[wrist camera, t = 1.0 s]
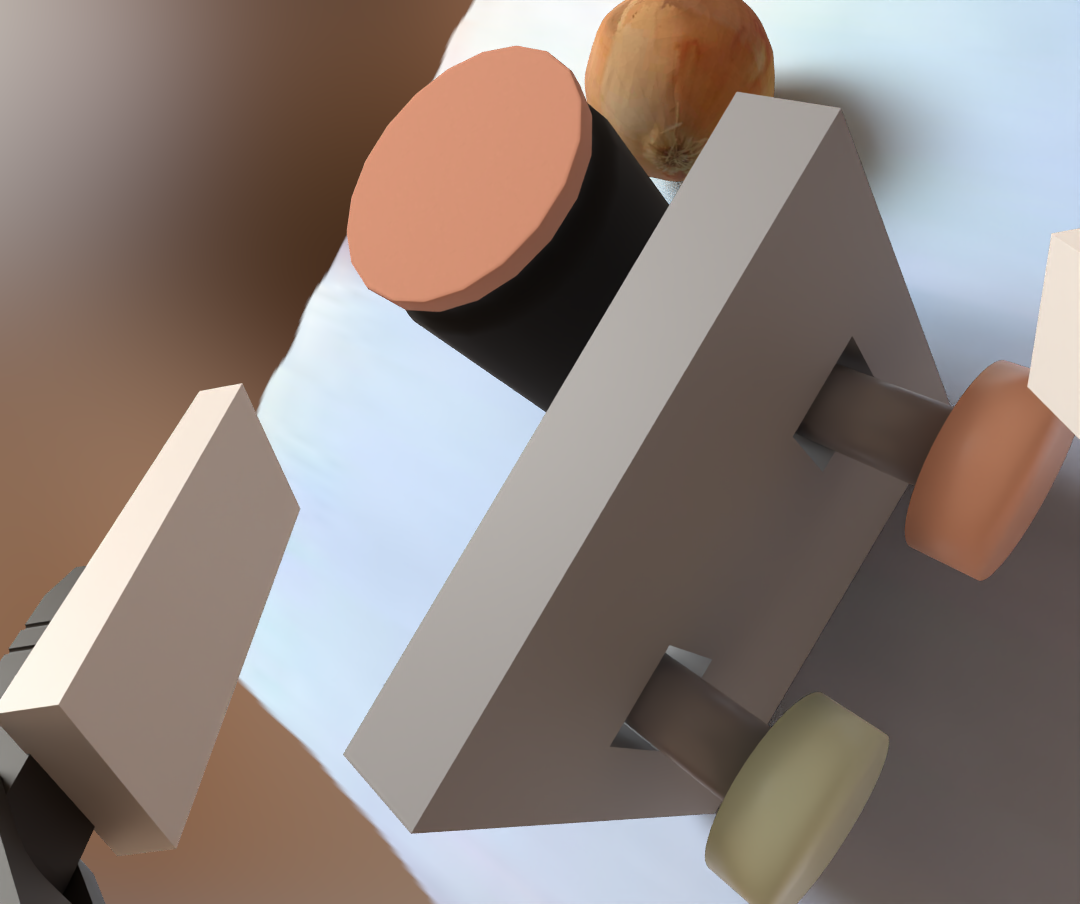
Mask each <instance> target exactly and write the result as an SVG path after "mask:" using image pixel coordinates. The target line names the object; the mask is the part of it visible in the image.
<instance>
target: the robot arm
mask: <svg viewBox="0 0 1080 904" xmlns="http://www.w3.org/2000/svg"><path fill="white" fill-rule="evenodd" d="M1027 387H1028V388H1029V389H1030V390H1031V391H1032V392H1033V393H1034V394H1035V395H1036V396H1037V397H1038V398H1039V399H1040V400H1041V401H1042V402H1043V403H1044V404H1045V405H1046V406H1047V407H1048V408H1049V409H1050V410H1051V411H1052V412H1053V413H1054V414H1055V415H1056V416H1057V417H1058V418H1059V419H1060V420H1061V421H1062V422H1063V423H1064V424H1065V425H1066V426H1067V427H1068V428H1069V429H1070V430H1071V431H1072V432H1073V433H1074V434H1075V435H1076V436H1077V437H1078V438H1079V439H1080V228H1079V229H1074V230H1068V231H1063V232H1057V233H1052V234H1051V241H1050V247H1049V253H1048V260H1047V266H1046V272H1045V279H1044V285H1043V291H1042V298H1041V304H1040V310H1039V317H1038V323H1037V329H1036V335H1035V342H1034V348H1033V354H1032V361H1031V367H1030V373H1029V380H1028V386H1027ZM299 511H300V507H299V505H298V503H297V501H296V499H295V496H294V494H293V492H292V490H291V488H290V486H289V483H288V481H287V479H286V477H285V475H284V473H283V471H282V468H281V466H280V464H279V462H278V460H277V458H276V455H275V453H274V451H273V449H272V447H271V445H270V442H269V440H268V438H267V436H266V434H265V432H264V430H263V427H262V425H261V423H260V421H259V419H258V417H257V414H256V412H255V410H254V408H253V406H252V404H251V402H250V399H249V397H248V395H247V393H246V391H245V389H244V386H243V384H237V385H231V386H226V387H220V388H215V389H209V390H204V391H200V392H199V393H198V395H197V396H196V398H195V399H194V401H193V402H192V404H191V406H190V407H189V409H188V410H187V412H186V414H185V415H184V416H183V418H182V419H181V421H180V423H179V424H178V426H177V427H176V429H175V430H174V432H173V433H172V435H171V436H170V438H169V440H168V441H167V443H166V444H165V446H164V447H163V449H162V450H161V452H160V453H159V455H158V456H157V458H156V460H155V461H154V463H153V464H152V466H151V467H150V469H149V470H148V472H147V473H146V475H145V476H144V478H143V480H142V481H141V483H140V484H139V486H138V487H137V489H136V491H135V492H134V494H133V495H132V497H131V498H130V500H129V501H128V503H127V504H126V506H125V508H124V509H123V511H122V512H121V514H120V515H119V517H118V518H117V520H116V522H115V523H114V525H113V526H112V528H111V529H110V531H109V532H108V534H107V535H106V537H105V539H104V540H103V541H102V543H101V545H100V546H99V548H98V549H97V551H96V552H95V554H94V555H93V557H92V558H91V560H90V562H89V563H88V565H87V566H82V567H76V568H74V569H73V570H72V571H71V572H70V573H69V574H68V575H67V576H66V577H65V578H63V580H61V581H60V582H59V583H58V584H57V585H56V586H55V587H54V588H52V589H51V590H50V591H49V592H48V593H47V594H46V595H45V596H44V597H43V599H42V600H41V602H40V603H39V605H38V606H37V608H36V609H35V611H34V612H33V614H32V615H31V617H30V618H29V619H28V621H27V622H26V624H25V625H26V629H25V630H21V631H20V633H19V634H18V636H17V637H16V639H15V640H14V642H13V643H12V644H11V646H10V648H9V651H10V653H9V654H7V655H4V656H3V658H2V659H1V661H0V904H105V902H104V900H103V897H102V894H101V892H100V889H99V887H98V884H97V882H96V879H95V876H94V875H93V873H92V872H91V871H90V870H89V868H88V867H87V866H86V865H85V864H84V863H83V862H82V861H81V860H80V858H81V856H82V854H83V852H84V849H85V847H86V845H87V842H88V841H89V838H90V836H91V834H92V832H93V830H95V831H96V833H97V834H98V835H99V836H100V837H101V838H102V839H103V840H104V842H105V843H106V844H107V845H108V846H109V847H110V848H111V849H112V850H113V852H114V853H115V854H116V855H117V856H122V855H129V854H138V853H146V852H154V851H162V850H170V849H176V848H177V845H178V842H179V839H180V837H181V834H182V831H183V828H184V826H185V823H186V820H187V817H188V815H189V812H190V809H191V807H192V804H193V801H194V798H195V796H196V793H197V790H198V787H199V784H200V782H201V779H202V776H203V774H204V771H205V768H206V765H207V762H208V760H209V757H210V754H211V752H212V749H213V746H214V743H215V741H216V738H217V735H218V733H219V730H220V727H221V724H222V721H223V718H224V716H225V713H226V710H227V708H228V705H229V702H230V699H231V697H232V694H233V691H234V689H235V686H236V683H237V680H238V678H239V675H240V672H241V669H242V667H243V664H244V661H245V659H246V656H247V653H248V650H249V648H250V645H251V642H252V639H253V637H254V634H255V631H256V628H257V626H258V623H259V620H260V617H261V615H262V612H263V609H264V606H265V604H266V601H267V598H268V595H269V593H270V590H271V587H272V585H273V582H274V579H275V576H276V574H277V571H278V568H279V565H280V563H281V560H282V557H283V554H284V552H285V549H286V546H287V543H288V541H289V538H290V535H291V532H292V530H293V527H294V524H295V522H296V519H297V516H298V513H299Z"/></svg>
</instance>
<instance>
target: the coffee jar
mask: <svg viewBox="0 0 1080 904" xmlns="http://www.w3.org/2000/svg"><path fill="white" fill-rule="evenodd" d="M668 207H669V204H668V203H667V201H666V200H665V198H664V197H663V196H662V194H661V193H660V192H659V190H658V189H657V187H656V186H655V185H654V183H653V182H652V180H651V179H650V178H649V176H648V175H647V174H646V172H645V171H644V169H643V168H642V167H641V165H640V164H639V162H638V161H637V160H636V158H635V157H634V156H633V154H632V153H631V151H630V150H629V149H628V147H627V146H626V145H625V143H624V142H623V140H622V139H621V138H620V136H619V135H618V133H617V132H616V131H615V129H614V128H613V127H612V125H611V124H610V122H609V121H608V120H607V119H606V118H605V117H604V116H603V115H601V114H600V113H599V112H598V111H597V110H595V109H594V108H593V107H592V106H591V105H589V104H588V103H587V101H586V99H585V96H584V94H583V92H582V89H581V87H580V84H579V83H578V81H577V79H576V77H575V76H574V74H573V72H572V71H571V70H570V69H569V68H567V67H566V66H565V65H564V64H562V63H561V62H560V61H559V60H557V59H556V58H555V57H554V56H552V55H551V54H550V53H549V52H547V51H542V50H537V49H531V48H526V47H521V46H512V47H507V48H502V49H497V50H491V51H486V52H482V53H480V54H478V55H476V56H474V57H472V58H470V59H468V60H466V61H464V62H462V63H459V64H457V65H455V66H453V67H451V68H449V69H447V70H446V71H445V72H444V73H442V74H441V75H440V76H439V77H437V78H436V79H435V80H433V81H432V82H431V83H430V84H428V85H427V86H426V87H424V88H423V89H422V90H421V91H419V92H418V93H417V94H416V95H415V96H414V97H413V98H412V99H411V100H410V101H409V102H408V103H407V105H406V106H405V107H404V108H403V109H402V110H401V111H400V112H399V114H398V115H397V116H396V117H395V118H394V119H393V120H392V121H391V123H390V124H389V125H388V126H387V127H386V129H385V131H384V132H383V134H382V136H381V137H380V139H379V141H378V142H377V144H376V145H375V147H374V148H373V150H372V152H371V153H370V155H369V156H368V158H367V160H366V162H365V164H364V167H363V169H362V172H361V175H360V177H359V180H358V182H357V185H356V188H355V190H354V193H353V195H352V200H351V207H350V213H349V220H348V227H347V237H348V243H349V249H350V256H351V262H352V264H353V266H354V267H355V269H356V271H357V272H358V274H359V275H360V277H361V278H362V280H363V282H364V283H365V285H366V286H367V288H368V289H369V290H371V291H373V292H375V293H376V294H378V295H380V296H382V297H384V298H385V299H387V300H389V301H391V302H392V303H394V304H396V305H398V306H400V307H402V308H403V309H405V310H406V311H407V313H408V314H409V316H410V317H411V318H412V319H413V321H415V322H416V323H418V324H419V325H420V326H422V327H423V328H425V329H426V330H428V331H429V332H431V333H432V334H434V335H435V336H436V337H438V338H439V339H441V340H442V341H444V342H445V343H447V344H448V345H449V346H451V347H452V348H454V349H455V350H457V351H458V352H460V353H461V354H463V355H464V356H465V357H467V358H468V359H470V360H471V361H473V362H474V363H476V364H477V365H478V366H480V367H481V368H483V369H484V370H486V371H487V372H489V373H490V374H491V375H493V376H494V377H496V378H497V379H499V380H500V381H502V382H503V383H505V384H506V385H507V386H509V387H510V388H512V389H513V390H515V391H516V392H518V393H519V394H520V395H522V396H523V397H525V398H526V399H528V400H529V401H531V402H532V403H534V404H535V405H536V406H538V407H539V408H541V409H542V410H544V411H545V412H547V410H548V409H549V407H550V405H551V404H552V402H553V400H554V398H555V397H556V395H557V393H558V392H559V390H560V388H561V387H562V385H563V383H564V382H565V380H566V378H567V377H568V375H569V373H570V372H571V370H572V368H573V367H574V365H575V363H576V361H577V360H578V358H579V356H580V355H581V353H582V351H583V350H584V348H585V346H586V345H587V343H588V341H589V340H590V338H591V336H592V335H593V333H594V331H595V329H596V328H597V326H598V324H599V323H600V321H601V319H602V318H603V316H604V314H605V313H606V311H607V309H608V308H609V306H610V304H611V303H612V301H613V299H614V298H615V296H616V294H617V292H618V291H619V289H620V287H621V286H622V284H623V282H624V281H625V279H626V277H627V276H628V274H629V272H630V271H631V269H632V267H633V266H634V264H635V262H636V260H637V259H638V257H639V255H640V254H641V252H642V250H643V249H644V247H645V245H646V244H647V242H648V240H649V239H650V237H651V235H652V234H653V232H654V230H655V229H656V227H657V225H658V223H659V222H660V220H661V218H662V217H663V215H664V213H665V212H666V210H667V208H668Z"/></svg>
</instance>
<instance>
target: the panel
mask: <svg viewBox="0 0 1080 904" xmlns="http://www.w3.org/2000/svg"><path fill="white" fill-rule="evenodd" d="M836 363H837V364H839V365H842V366H845V367H847V368H850V369H853V370H856V371H858V372H861V373H864V374H866V375H869V376H872V377H875V378H877V379H880V380H883V381H885V382H888V383H891V384H894V385H896V386H899V387H902V388H904V389H907V390H910V391H913V392H915V393H918V394H921V395H923V396H926V397H929V398H932V399H934V400H937V401H940V402H943V403H945V404H948V405H950V403H949V400H948V398H947V395H946V392H945V389H944V387H943V384H942V381H941V378H940V376H939V373H938V370H937V368H936V365H935V362H934V359H933V357H932V354H931V351H930V349H929V346H928V343H927V340H926V338H925V335H924V332H923V330H922V327H921V324H920V321H919V319H918V316H917V313H916V311H915V308H914V305H913V302H912V300H911V297H910V294H909V292H908V289H907V286H906V283H905V281H904V278H903V275H902V272H901V270H900V267H899V264H898V262H897V259H896V256H895V253H894V251H893V248H892V245H891V243H890V240H889V237H888V234H887V232H886V229H885V226H884V224H883V221H882V218H881V215H880V213H879V210H878V207H877V205H876V202H875V199H874V196H873V194H872V191H871V188H870V186H869V183H868V180H867V177H866V175H865V172H864V169H863V166H862V164H861V161H860V158H859V156H858V153H857V150H856V147H855V145H854V142H853V139H852V137H851V134H850V131H849V128H848V126H847V123H846V120H845V118H844V115H843V112H842V109H841V108H838V107H832V106H825V105H819V104H812V103H806V102H800V101H793V100H787V99H780V98H774V97H768V96H761V95H755V94H748V93H742V92H736V94H735V96H734V97H733V99H732V101H731V102H730V104H729V106H728V107H727V109H726V111H725V112H724V114H723V116H722V117H721V119H720V121H719V122H718V124H717V126H716V128H715V129H714V131H713V133H712V134H711V136H710V138H709V139H708V141H707V143H706V144H705V146H704V148H703V149H702V151H701V153H700V154H699V156H698V158H697V159H696V161H695V163H694V165H693V166H692V168H691V170H690V171H689V173H688V175H687V176H686V178H685V180H684V181H683V183H682V185H681V186H680V188H679V190H678V191H677V193H676V195H675V197H674V198H673V200H672V202H671V203H670V205H669V207H668V208H667V210H666V212H665V213H664V215H663V217H662V218H661V220H660V222H659V223H658V225H657V227H656V229H655V230H654V232H653V234H652V235H651V237H650V239H649V240H648V242H647V244H646V245H645V247H644V249H643V250H642V252H641V254H640V255H639V257H638V259H637V260H636V262H635V264H634V266H633V267H632V269H631V271H630V272H629V274H628V276H627V277H626V279H625V281H624V282H623V284H622V286H621V287H620V289H619V291H618V292H617V294H616V296H615V298H614V299H613V301H612V303H611V304H610V306H609V308H608V309H607V311H606V313H605V314H604V316H603V318H602V319H601V321H600V323H599V324H598V326H597V328H596V329H595V331H594V333H593V335H592V336H591V338H590V340H589V341H588V343H587V345H586V346H585V348H584V350H583V351H582V353H581V355H580V356H579V358H578V360H577V361H576V363H575V365H574V367H573V368H572V370H571V372H570V373H569V375H568V377H567V378H566V380H565V382H564V383H563V385H562V387H561V388H560V390H559V392H558V393H557V395H556V397H555V398H554V400H553V402H552V404H551V405H550V407H549V409H548V410H547V412H546V414H545V415H544V417H543V419H542V420H541V422H540V424H539V425H538V427H537V429H536V430H535V432H534V434H533V436H532V437H531V439H530V441H529V442H528V444H527V446H526V447H525V449H524V451H523V452H522V454H521V456H520V457H519V459H518V461H517V462H516V464H515V466H514V468H513V469H512V471H511V473H510V474H509V476H508V478H507V479H506V481H505V483H504V484H503V486H502V488H501V489H500V491H499V493H498V494H497V496H496V498H495V499H494V501H493V503H492V505H491V506H490V508H489V510H488V511H487V513H486V515H485V516H484V518H483V520H482V521H481V523H480V525H479V526H478V528H477V530H476V531H475V533H474V535H473V537H472V538H471V540H470V542H469V543H468V545H467V547H466V548H465V550H464V552H463V553H462V555H461V557H460V558H459V560H458V562H457V563H456V565H455V567H454V568H453V570H452V572H451V574H450V575H449V577H448V579H447V580H446V582H445V584H444V585H443V587H442V589H441V590H440V592H439V594H438V595H437V597H436V599H435V600H434V602H433V604H432V606H431V607H430V609H429V611H428V612H427V614H426V616H425V617H424V619H423V621H422V622H421V624H420V626H419V627H418V629H417V631H416V632H415V634H414V636H413V638H412V639H411V641H410V643H409V644H408V646H407V648H406V649H405V651H404V653H403V654H402V656H401V658H400V659H399V661H398V663H397V664H396V666H395V668H394V669H393V671H392V673H391V675H390V676H389V678H388V680H387V681H386V683H385V685H384V686H383V688H382V690H381V691H380V693H379V695H378V696H377V698H376V700H375V701H374V703H373V705H372V707H371V708H370V710H369V712H368V713H367V715H366V717H365V718H364V720H363V722H362V723H361V725H360V727H359V728H358V730H357V732H356V733H355V735H354V737H353V738H352V740H351V742H350V744H349V745H348V747H347V749H346V750H345V752H344V754H343V755H344V756H345V757H346V758H347V760H348V761H349V762H350V763H351V764H352V765H353V767H354V768H355V769H356V770H357V771H358V772H359V774H360V775H361V776H362V777H363V778H364V779H365V781H366V782H367V783H368V784H369V785H370V786H371V788H372V789H373V790H374V791H375V792H376V793H377V795H378V796H379V797H380V798H381V799H382V800H383V802H384V803H385V804H386V805H387V806H388V807H389V809H390V810H391V811H392V812H393V813H394V814H395V816H396V817H397V818H398V819H399V820H400V821H401V823H402V824H403V825H404V826H405V827H406V828H407V830H408V831H409V832H410V833H411V834H412V833H428V832H443V831H458V830H473V829H488V828H503V827H518V826H533V825H549V824H564V823H579V822H594V821H609V820H624V819H639V818H654V817H669V816H685V815H700V814H715V813H716V811H717V809H718V808H719V806H720V804H721V802H722V800H721V799H719V798H718V797H717V796H716V795H714V794H713V793H712V792H711V791H709V790H708V789H707V788H706V787H704V786H703V785H702V784H701V783H699V782H698V781H697V780H696V779H694V778H693V777H692V776H691V775H690V774H688V773H687V772H686V771H685V770H683V769H682V768H681V767H680V766H678V765H677V764H676V763H675V762H673V761H672V760H671V759H670V758H668V757H667V756H666V755H665V754H663V753H662V752H661V751H660V750H658V749H657V748H656V747H655V746H653V745H652V744H651V743H650V742H649V741H647V740H646V739H645V738H644V737H642V736H641V735H640V734H639V733H637V732H636V731H635V730H634V729H632V728H631V727H630V726H629V725H627V724H626V723H625V722H624V721H625V720H626V718H627V716H628V715H629V713H630V711H631V710H632V708H633V706H634V705H635V703H636V701H637V699H638V698H639V696H640V694H641V693H642V691H643V689H644V688H645V686H646V684H647V683H648V681H649V679H650V677H651V676H652V674H653V672H654V671H655V669H656V667H657V666H658V664H659V662H660V661H661V659H662V657H663V655H664V654H665V653H667V654H668V655H670V656H671V657H672V658H674V659H675V660H677V661H678V662H680V663H681V664H682V665H684V666H685V667H687V668H688V669H689V670H691V671H692V672H694V673H695V674H697V675H698V676H699V677H701V678H702V679H704V680H705V681H706V682H708V683H709V684H711V685H712V686H714V687H715V688H716V689H718V690H719V691H721V692H722V693H723V694H725V695H726V696H728V697H729V698H731V699H732V700H733V701H735V702H736V703H738V704H739V705H740V706H742V707H743V708H745V709H746V710H747V711H749V712H750V713H752V714H753V715H755V716H756V717H757V718H759V719H760V720H762V721H763V722H764V723H766V724H768V723H769V721H770V719H771V718H772V716H773V714H774V712H775V711H776V709H777V707H778V706H779V704H780V702H781V701H782V699H783V697H784V695H785V694H786V692H787V690H788V689H789V687H790V685H791V684H792V682H793V680H794V678H795V677H796V675H797V673H798V672H799V670H800V668H801V667H802V665H803V663H804V661H805V660H806V658H807V656H808V655H809V653H810V651H811V650H812V648H813V646H814V645H815V643H816V641H817V639H818V638H819V636H820V634H821V633H822V631H823V629H824V628H825V626H826V624H827V622H828V621H829V619H830V617H831V616H832V614H833V612H834V611H835V609H836V607H837V605H838V604H839V602H840V600H841V599H842V597H843V595H844V594H845V592H846V590H847V588H848V587H849V585H850V583H851V582H852V580H853V578H854V577H855V575H856V573H857V571H858V570H859V568H860V566H861V565H862V563H863V561H864V560H865V558H866V556H867V554H868V553H869V551H870V549H871V548H872V546H873V544H874V543H875V541H876V539H877V538H878V536H879V534H880V532H881V531H882V529H883V527H884V526H885V524H886V522H887V521H888V519H889V517H890V515H891V514H892V512H893V510H894V509H895V507H896V505H897V504H898V502H899V500H900V498H901V497H902V495H903V493H904V492H905V490H906V488H907V487H908V485H909V483H907V482H904V481H902V480H900V479H897V478H895V477H893V476H891V475H888V474H886V473H884V472H882V471H879V470H877V469H875V468H872V467H870V466H868V465H866V464H863V463H861V462H859V461H857V460H854V459H852V458H850V457H848V456H845V455H843V454H841V453H838V452H836V451H834V450H832V449H829V448H827V447H825V446H823V445H820V444H818V443H816V442H813V441H811V440H809V439H807V438H804V437H802V436H800V435H798V434H795V432H796V430H797V429H798V427H799V425H800V424H801V422H802V420H803V418H804V417H805V415H806V413H807V412H808V410H809V408H810V407H811V405H812V403H813V401H814V400H815V398H816V396H817V395H818V393H819V391H820V390H821V388H822V386H823V385H824V383H825V381H826V379H827V378H828V376H829V374H830V373H831V371H832V369H833V368H834V366H835V364H836Z"/></svg>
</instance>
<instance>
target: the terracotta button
mask: <svg viewBox="0 0 1080 904" xmlns="http://www.w3.org/2000/svg"><path fill="white" fill-rule="evenodd" d="M1029 373H1030V368H1027V367H1024V366H1021V365H1018V364H1015V363H1012V362H1008V361H1005V360H999V361H997V362H994V363H993V364H991V365H990V366H988V367H987V368H986V369H985V370H984V371H983V372H982V373H981V374H980V375H979V376H978V377H977V378H976V379H975V380H974V381H973V382H972V384H971V385H970V386H969V387H968V388H967V390H966V391H965V392H964V394H963V395H962V396H961V398H960V399H959V401H958V402H957V404H956V405H955V407H953V406H951V405H948V404H945V403H943V402H940V401H937V400H934V399H932V398H929V397H926V396H923V395H921V394H918V393H915V392H913V391H910V390H907V389H904V388H902V387H899V386H896V385H894V384H891V383H888V382H885V381H883V380H880V379H877V378H875V377H872V376H869V375H866V374H864V373H861V372H858V371H856V370H853V369H850V368H847V367H845V366H842V365H839V364H837V363H836V364H835V366H834V368H833V369H832V371H831V373H830V374H829V376H828V378H827V379H826V381H825V383H824V385H823V386H822V388H821V390H820V391H819V393H818V395H817V396H816V398H815V400H814V401H813V403H812V405H811V407H810V408H809V410H808V412H807V413H806V415H805V417H804V418H803V420H802V422H801V424H800V425H799V427H798V429H797V430H796V432H795V434H798V435H800V436H802V437H804V438H807V439H809V440H811V441H813V442H816V443H818V444H820V445H823V446H825V447H827V448H829V449H832V450H834V451H836V452H838V453H841V454H843V455H845V456H848V457H850V458H852V459H854V460H857V461H859V462H861V463H863V464H866V465H868V466H870V467H872V468H875V469H877V470H879V471H882V472H884V473H886V474H888V475H891V476H893V477H895V478H897V479H900V480H902V481H904V482H907V483H909V484H911V485H913V486H915V487H914V490H913V493H912V496H911V499H910V503H909V507H908V511H907V516H906V522H905V539H906V542H907V544H908V546H910V547H911V548H913V549H915V550H917V551H919V552H921V553H923V554H925V555H927V556H929V557H931V558H933V559H935V560H937V561H939V562H942V563H944V564H946V565H948V566H950V567H952V568H954V569H956V570H958V571H960V572H962V573H964V574H966V575H968V576H970V577H972V578H974V579H976V580H978V581H982V580H985V579H987V578H988V577H989V576H991V575H992V574H993V573H994V572H995V571H996V570H997V569H998V568H999V567H1000V566H1001V565H1002V563H1003V562H1004V561H1005V560H1006V559H1007V557H1008V556H1009V555H1010V553H1011V552H1012V551H1013V549H1014V548H1015V547H1016V545H1017V544H1018V542H1019V541H1020V539H1021V538H1022V536H1023V535H1024V533H1025V532H1026V530H1027V529H1028V527H1029V525H1030V524H1031V522H1032V521H1033V519H1034V517H1035V516H1036V514H1037V512H1038V510H1039V509H1040V507H1041V505H1042V503H1043V502H1044V500H1045V498H1046V496H1047V494H1048V492H1049V490H1050V489H1051V487H1052V485H1053V483H1054V481H1055V479H1056V477H1057V475H1058V473H1059V470H1060V468H1061V466H1062V464H1063V462H1064V460H1065V457H1066V455H1067V453H1068V450H1069V448H1070V446H1071V443H1072V441H1073V438H1074V436H1075V434H1074V433H1073V432H1072V431H1071V430H1070V429H1069V428H1068V427H1067V426H1066V425H1065V424H1064V423H1063V422H1062V421H1061V420H1060V419H1059V418H1058V417H1057V416H1056V415H1055V414H1054V413H1053V412H1052V411H1051V410H1050V409H1049V408H1048V407H1047V406H1046V405H1045V404H1044V403H1043V402H1042V401H1041V400H1040V399H1039V398H1038V397H1037V396H1036V395H1035V394H1034V393H1033V392H1032V391H1031V390H1030V389H1029V388H1028V387H1027V386H1028V380H1029Z"/></svg>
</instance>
